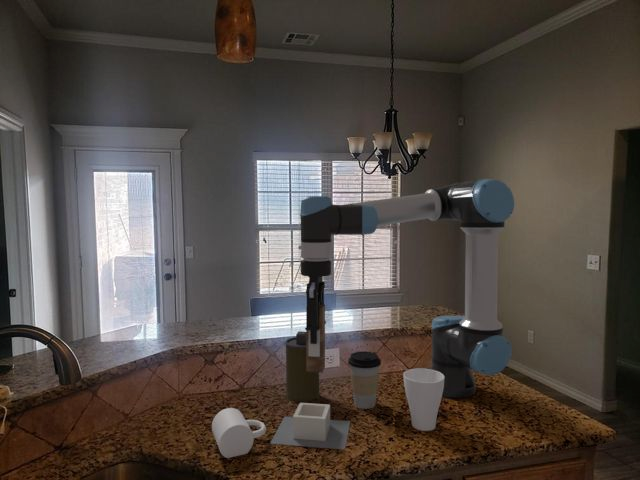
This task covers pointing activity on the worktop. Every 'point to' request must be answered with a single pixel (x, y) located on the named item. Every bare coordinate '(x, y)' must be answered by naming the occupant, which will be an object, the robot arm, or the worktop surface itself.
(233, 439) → the mug
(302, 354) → the canister
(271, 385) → the worktop surface
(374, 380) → the coffee cup
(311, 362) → the brown wooden block
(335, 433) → the mat
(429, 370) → the cup
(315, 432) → the white square holder
